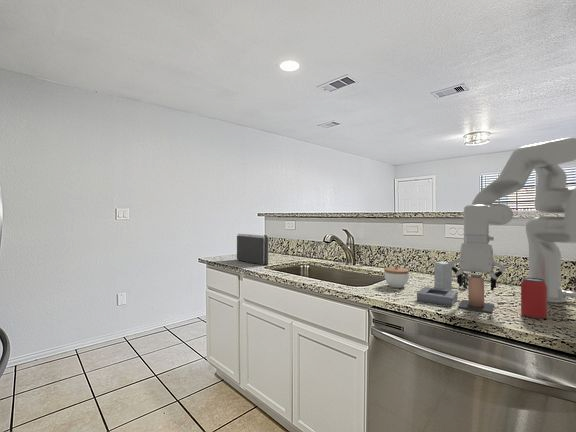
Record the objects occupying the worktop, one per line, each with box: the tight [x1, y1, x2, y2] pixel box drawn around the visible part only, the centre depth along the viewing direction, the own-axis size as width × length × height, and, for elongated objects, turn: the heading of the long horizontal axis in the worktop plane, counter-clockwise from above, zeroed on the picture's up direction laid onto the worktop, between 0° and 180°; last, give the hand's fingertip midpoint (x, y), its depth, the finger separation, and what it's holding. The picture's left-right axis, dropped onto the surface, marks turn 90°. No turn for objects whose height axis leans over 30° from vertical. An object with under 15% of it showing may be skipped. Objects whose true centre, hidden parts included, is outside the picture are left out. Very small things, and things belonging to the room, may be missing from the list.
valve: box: [452, 272, 469, 289], centre depth 140 cm, size 7×7×12 cm
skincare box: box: [433, 261, 453, 290], centre depth 132 cm, size 6×4×12 cm
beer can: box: [520, 276, 548, 320], centre depth 100 cm, size 7×7×12 cm
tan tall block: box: [467, 273, 485, 307], centre depth 110 cm, size 5×5×11 cm
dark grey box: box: [236, 232, 270, 266], centre depth 216 cm, size 35×22×20 cm, turn 44°
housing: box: [416, 286, 458, 307], centre depth 119 cm, size 12×12×3 cm
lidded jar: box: [383, 265, 410, 289], centre depth 141 cm, size 11×11×9 cm
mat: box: [457, 299, 495, 314], centre depth 110 cm, size 10×10×1 cm
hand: (476, 287), depth 109 cm, fingers open, 9 cm apart
